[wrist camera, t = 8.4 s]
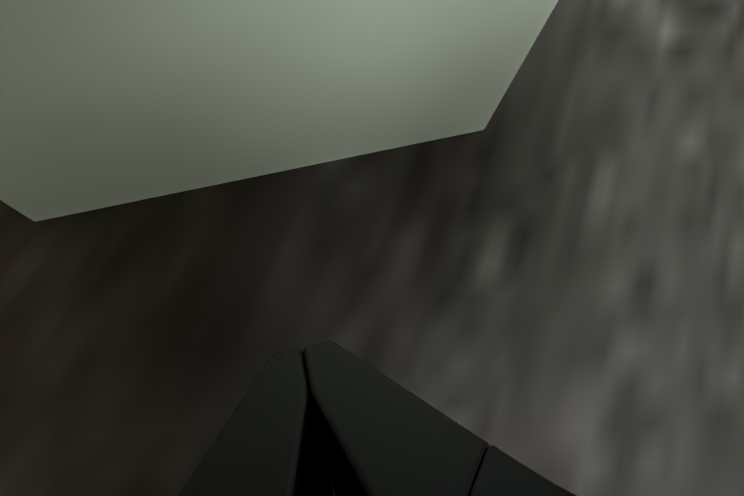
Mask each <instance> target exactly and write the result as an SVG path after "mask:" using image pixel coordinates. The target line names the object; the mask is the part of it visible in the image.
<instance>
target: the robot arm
mask: <svg viewBox="0 0 744 496" xmlns="http://www.w3.org/2000/svg"><path fill="white" fill-rule="evenodd" d="M303 355H304V356H303ZM330 477H331V478H330ZM331 481H332V483H331ZM332 485H333V488H332ZM333 489H334V493H335V496H576V495H574V494H573V493H571V492H569V491H567V490H565V489H563V488H561V487H560V486H558V485H556V484H554V483H553V482H551V481H549V480H548V479H546V478H544V477H543V476H541V475H539V474H538V473H536V472H534V471H533V470H531V469H530V468H528V467H526V466H525V465H523V464H521V463H520V462H518V461H516V460H515V459H513V458H512V457H510V456H509V455H507V454H506V453H504V452H503V451H501V450H500V449H498V448H496V447H495V446H493V445H491V446H489V444H488V443H487V442H485V441H484V440H482V439H481V438H479V437H478V436H476V435H475V434H473V433H472V432H470V431H469V430H467V429H466V428H464V427H462V426H461V425H459V424H458V423H456V422H455V421H453V420H452V419H450V418H449V417H447V416H446V415H444V414H443V413H441V412H440V411H438V410H437V409H435V408H433V407H432V406H430V405H429V404H427V403H426V402H424V401H423V400H421V399H420V398H418V397H417V396H415V395H414V394H412V393H411V392H409V391H407V390H406V389H404V388H403V387H401V386H400V385H398V384H397V383H395V382H394V381H392V380H391V379H389V378H388V377H386V376H385V375H383V374H382V373H380V372H378V371H377V370H375V369H374V368H372V367H371V366H369V365H368V364H366V363H365V362H363V361H362V360H360V359H359V358H357V357H356V356H354V355H352V354H351V353H349V352H348V351H346V350H345V349H343V348H342V347H340V346H339V345H337V344H336V343H334V342H331V341H327V342H323V343H319V344H315V345H311V346H307V347H306V348H305V349H304V351H303V353H302V351H301V350H299V349H294V350H290V351H286V352H282V353H278V354H274V355H273V356H272V357H270V359H269V360H268V362H267V363H266V365H265V366H264V368H263V369H262V371H261V372H260V374H259V375H258V377H257V378H256V380H255V381H254V383H253V384H252V386H251V387H250V389H249V390H248V392H247V393H246V395H245V396H244V398H243V399H242V401H241V402H240V404H239V405H238V407H237V408H236V410H235V411H234V413H233V414H232V416H231V417H230V419H229V420H228V422H227V423H226V425H225V426H224V428H223V429H222V431H221V432H220V434H219V436H218V437H217V439H216V440H215V442H214V443H213V445H212V446H211V448H210V449H209V451H208V452H207V454H206V455H205V457H204V458H203V460H202V461H201V463H200V464H199V466H198V467H197V469H196V470H195V472H194V473H193V475H192V476H191V478H190V479H189V481H188V482H187V484H186V485H185V487H184V488H183V490H182V491H181V493H180V494H179V496H334V494H333Z"/></svg>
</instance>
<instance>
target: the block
mask: <svg viewBox="0 0 744 496" xmlns="http://www.w3.org/2000/svg"><path fill="white" fill-rule="evenodd" d="M557 2H558V0H0V200H1V201H3V202H4V203H6V204H7V205H9V206H11V207H12V208H14V209H15V210H17V211H18V212H20V213H22V214H23V215H25V216H26V217H28V218H29V219H31V220H33V221H34V222H37V221H41V220H46V219H51V218H56V217H61V216H66V215H71V214H76V213H80V212H85V211H90V210H95V209H100V208H105V207H110V206H115V205H120V204H124V203H129V202H134V201H139V200H144V199H149V198H154V197H159V196H163V195H168V194H173V193H178V192H183V191H188V190H193V189H198V188H203V187H207V186H212V185H217V184H222V183H227V182H232V181H237V180H242V179H246V178H251V177H256V176H261V175H266V174H271V173H276V172H281V171H286V170H290V169H295V168H300V167H305V166H310V165H315V164H320V163H325V162H329V161H334V160H339V159H344V158H349V157H354V156H359V155H364V154H369V153H373V152H378V151H383V150H388V149H393V148H398V147H403V146H408V145H412V144H417V143H422V142H427V141H432V140H437V139H442V138H447V137H452V136H456V135H461V134H466V133H471V132H476V131H481V130H484V129H485V127H486V126H487V124H488V122H489V120H490V119H491V117H492V115H493V113H494V112H495V110H496V108H497V106H498V105H499V103H500V101H501V99H502V98H503V96H504V94H505V92H506V91H507V89H508V87H509V85H510V84H511V82H512V80H513V79H514V77H515V75H516V73H517V72H518V70H519V68H520V66H521V65H522V63H523V61H524V59H525V58H526V56H527V54H528V52H529V51H530V49H531V47H532V45H533V44H534V42H535V40H536V38H537V37H538V35H539V33H540V31H541V30H542V28H543V26H544V25H545V23H546V21H547V19H548V18H549V16H550V14H551V12H552V11H553V9H554V7H555V5H556V4H557Z"/></svg>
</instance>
